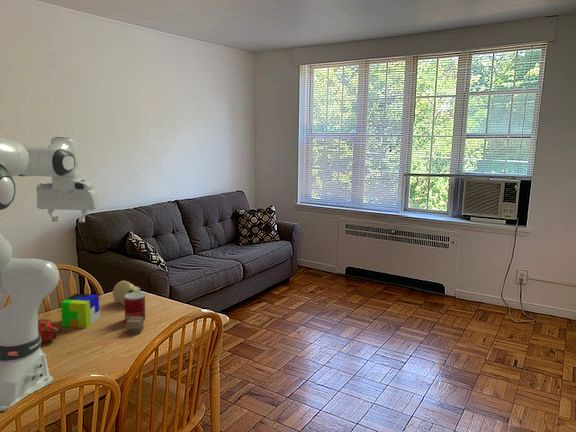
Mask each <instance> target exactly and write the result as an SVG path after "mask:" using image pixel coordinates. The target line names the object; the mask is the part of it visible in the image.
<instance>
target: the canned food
mask: <svg viewBox="0 0 576 432" xmlns="http://www.w3.org/2000/svg"><path fill="white" fill-rule="evenodd" d="M123 307H124V320H125V323H127V320H128V319H129V318H130V317H143V321H145V320H146V296H145V293H144V292H131V293H128V294H126V295H125V296H124V306H123Z"/></svg>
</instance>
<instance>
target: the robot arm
mask: <svg viewBox="0 0 576 432" xmlns="http://www.w3.org/2000/svg"><path fill="white" fill-rule="evenodd" d="M79 163H80V161H79V152H78V145H77V143H76V141H75V140H74V139H73V138H71V137H70V138H69V137H64V136H55V137H52V138H51V140H50V144H49V146H47V147H44V146H41V147H40V146H39V147H38V146H24V145H23V144H22V143H21V142H19V141H17V140H14V139H11V138H6V137H2V136H1V137H0V211H2V210H6V209H7V208H9V206H11V204H12V203H13V202H14V199H15V196H16V182H15V181H14V178H13V177H17V176H18V177H50V178H51V182H49V183H48V182H46V183H45V182H41V183H39V184H38V185H37V186H36V189H35V190H36V207H37V209H38V210H47V213H48V215H49V216H50V218H51V222H52V223H57V222H59V216H58V215H57V216H56V214H55V213H54V212H55V210H58V211H59V210H61V211H62V210H64V211H67V210H69V211H70V210H72V211H81V216H78V223H85V222H86V215H87V214H88V213H89V211H93V210H96V209H97V208H98V204H99V203H98V196H97V192H96V190H94V187H95V185H94V183H95V182H93V181H89V180H87V179H84V178H81V177H80V172H79ZM12 256H13V247H12V244H11V243H10V242H9V241H8V240H7V238H5V237H4V235H3V234H2V233H1V232H0V297H1V296H2V297H3V296H5V297H7V296H8V297H10V304H9V305H7V306H5V307H3V308H1V309H0V412H2V411H3V412H5V411H8V410H7V409H8V408H10V407H11V406H13V405H14V404H16V403H17V402H19V401H20V400H21V399H23V398H24V397H26V396H28V395H29V394H31V393H33V392H34V391H36V390H39V389H41V388H43V387H44V388H46V387H47V386H48V385H49V384H50V383H52V382H53V381H54V377H53V376H52V374H50V372H49V367H48V361H47V357H46V354H45V353H44V351H43V350H42V348H41V346H42V341H41V337H40V333H39V332H38V320H39V309H40V307H41V304H42V303H43V300H44V299H45V298H46V297H47V296H48V295H50V294H51V293H52V292H53V291H54V290H55V289H56V287H57V286H58V284H59V281H60V271H59V268H58V267H57V265H56V264H55V263H54V262H53V261H48V260H45V259H39V258H20V257H19V258H18V257H12ZM45 386H46V387H45ZM44 388H43V389H44Z"/></svg>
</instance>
